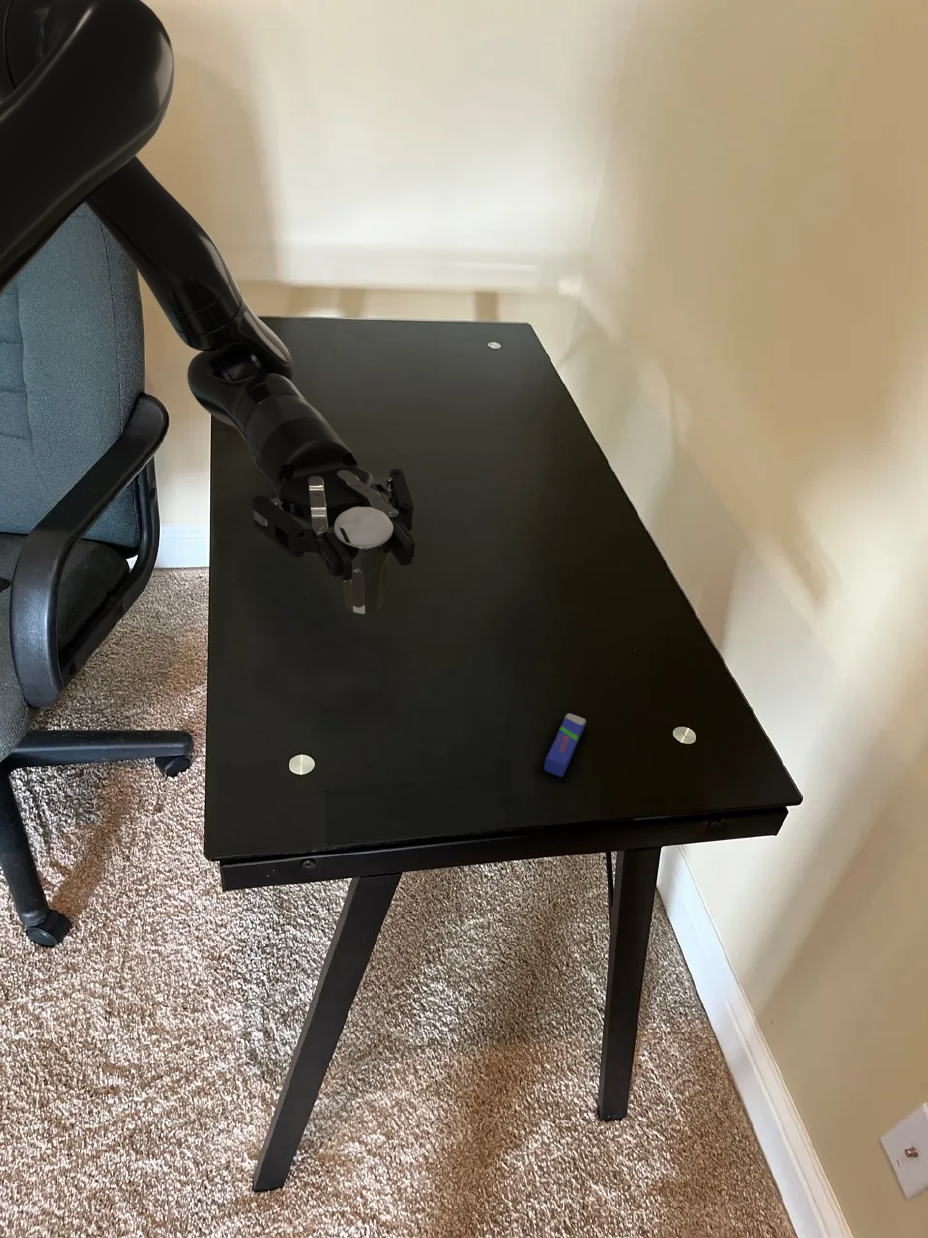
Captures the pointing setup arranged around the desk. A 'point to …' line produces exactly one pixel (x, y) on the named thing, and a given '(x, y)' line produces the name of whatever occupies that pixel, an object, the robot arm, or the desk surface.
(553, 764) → the eraser
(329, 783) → the desk surface
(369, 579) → the milkshake
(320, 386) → the desk surface
